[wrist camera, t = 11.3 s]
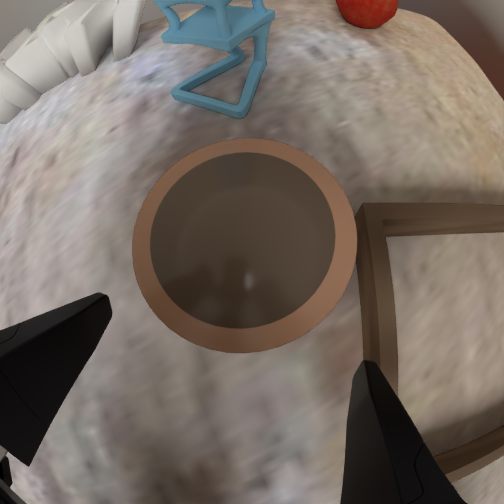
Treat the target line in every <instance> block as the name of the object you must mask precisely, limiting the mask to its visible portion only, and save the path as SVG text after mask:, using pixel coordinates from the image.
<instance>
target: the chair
mask: <svg viewBox="0 0 504 504" xmlns="http://www.w3.org/2000/svg"><path fill="white" fill-rule="evenodd" d="M231 1H232V0H154V2H155V3H156V4H157V6H158V7H159V8H160V9H161V10H162V12H164V14H165V15H166V17H167V18H168V21H169V29H168V30H167V31H166V32H164V33H163V34H161V37H162V39H163V42H164V43H172V44H183V43H188V44H196V45H202V46H206V47H210V48H214V49H220V50H225V51H227V52H228V53H229V54H230V56H229V57H227V58H225V59H223V60H221V61H219V62H217V63H216V64H214V65H212V66H210V67H208V68H206V69H204V70H202V71H201V72H199V73H197V74H195V75H193V76H192V77H190V78H188V79H187V80H185V81H183V82H182V83H180V84H179V85H177V86H176V87H175V88H174V89H172V91H171V94H172V96H173V98H174V99H175V100H179V101H182V102H186V103H190V104H193V105H197V106H200V107H204V108H207V109H210V110H213V111H217V112H220V113H223V114H226V115H229V116H232V117H235V118H238V119H241V118H244V117H245V115H246V114H247V112H248V110H249V108H250V105H251V103H252V100H253V97H254V94H255V91H256V88H257V85H258V82H259V79H260V77H261V74H262V72H263V70H264V68H265V67H266V65H267V62H266V48H267V39H268V33H269V28H270V25H271V22H272V20H274V19H275V10H270V9H266V8H265V6H264V4H263V0H252V4H253V8H251V7H240V6H231V5H228V4H229V3H230V2H231ZM183 3H194V4H202V5H206V6H205V7H203V8H202V9H200V10H199V11H197V12H196V13H195V14H193V15H192V16H190V17H189V18H187V19H185V20H184V21H182V22H180V19H179V17H178V15H177V14H176V13H175V11H173V10H172V9H171V8H170V7H169V6H172V5H176V4H183ZM250 37H253V38H254V46H255V49H254V61H253V63H252V65H251V68H250V70H249V73H248V76H247V79H246V82H245V85H244V89H243V92H242V95H241V98H240V101H239V103H238V104H237V105H232V104H229V103H226V102H223V101H220V100H216V99H213V98H209V97H206V96H202V95H199V94H195V93H191V92H187V91H189V90H191V89H192V88H194V87H196V86H198V85H200V84H201V83H203V82H205V81H207V80H209V79H211V78H213V77H215V76H216V75H218V74H220V73H222V72H224V71H226V70H228V69H230V68H232V67H234V66H236V65H238V64H239V63H241V62H242V61H244V60H245V56H244V52H243V51H242V50H241V49H240V48H239V47H238V45H239V44H240V43H241V42H242V41H243V40H246V39H248V38H250Z"/></svg>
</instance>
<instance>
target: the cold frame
mask: <svg viewBox="0 0 504 504" xmlns="http://www.w3.org/2000/svg"><path fill="white" fill-rule="evenodd" d="M354 219H355V223H356V231H357V253H356V264H357V272H358V282H359V292H360V303H361V316H362V333H363V356H364V360H371V361H375V362H376V363H377V364H378V366H379V368H380V369H381V371H382V372H383V374H384V376H385V377H386V379H387V380H388V382H389V384H390V385H391V387H392V388H393V390H394V392H395V393H396V395H397V397H398V349H397V329H396V315H395V303H394V293H393V284H392V276H391V268H390V261H389V255H388V248H387V242H386V237H391V236H414V235H439V234H465V233H494V232H504V206H503V205H483V204H455V203H363V204H362V205H361V207H360V209H359V211H358V212H357V214H356V216H355V218H354ZM503 455H504V425H503V426H501V427H500V428H498V429H496V430H494V431H492V432H490V433H488V434H486V435H484V436H482V437H480V438H478V439H476V440H474V441H472V442H470V443H468V444H465V445H463V446H461V447H458V448H456V449H454V450H451V451H449V452H446V453H444V454H441V455H438V456H436V457H434V459H435V461H436V462H437V464H438V465H439V467H440V468H441V470H442V471H443V473H444V474H445V476H446V477H447V478H448V480H449V481H450V483H452V482H454V481H457V480H459V479H461V478H463V477H465V476H467V475H469V474H471V473H473V472H475V471H477V470H479V469H481V468H483V467H485V466H486V465H488V464H490V463H492V462H493V461H495V460H497V459H499V458H500V457H502V456H503Z"/></svg>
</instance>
